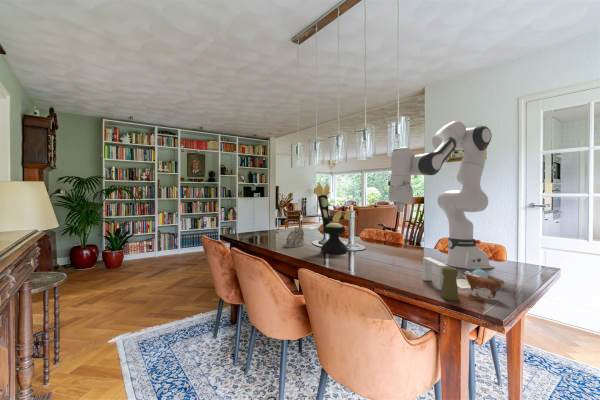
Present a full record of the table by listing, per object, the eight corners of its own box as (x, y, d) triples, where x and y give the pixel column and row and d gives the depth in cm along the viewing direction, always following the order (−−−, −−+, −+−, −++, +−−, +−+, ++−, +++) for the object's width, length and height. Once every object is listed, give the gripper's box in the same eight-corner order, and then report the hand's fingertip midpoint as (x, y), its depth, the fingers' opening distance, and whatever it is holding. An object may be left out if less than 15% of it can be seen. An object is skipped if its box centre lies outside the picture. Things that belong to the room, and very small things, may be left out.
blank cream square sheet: (471, 279, 134) (471, 278, 134) (490, 288, 122) (490, 287, 122) (445, 279, 134) (445, 279, 134) (461, 288, 122) (461, 288, 122)
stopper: (481, 278, 136) (481, 271, 136) (504, 288, 122) (504, 281, 122) (476, 278, 136) (477, 271, 136) (499, 288, 122) (499, 281, 122)
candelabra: (341, 256, 181) (341, 180, 180) (308, 252, 192) (308, 180, 191) (352, 250, 198) (352, 181, 196) (321, 247, 209) (321, 181, 207)
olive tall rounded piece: (437, 294, 115) (437, 265, 115) (452, 294, 115) (453, 265, 115) (446, 300, 109) (446, 269, 109) (462, 299, 109) (463, 269, 109)
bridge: (429, 279, 135) (429, 257, 134) (447, 290, 120) (448, 265, 120) (422, 279, 135) (422, 257, 134) (440, 290, 120) (440, 265, 119)
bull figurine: (464, 289, 121) (465, 269, 120) (501, 299, 109) (502, 277, 109) (458, 291, 118) (458, 270, 118) (495, 302, 107) (496, 279, 107)
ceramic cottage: (296, 242, 230) (295, 222, 229) (309, 246, 217) (308, 225, 215) (278, 245, 222) (277, 225, 220) (290, 250, 208) (289, 228, 207)
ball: (484, 273, 132) (473, 264, 131) (494, 276, 126) (483, 268, 125) (476, 284, 131) (465, 276, 131) (485, 288, 125) (474, 280, 125)
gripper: (417, 181, 132) (416, 213, 133) (399, 182, 153) (398, 210, 153) (402, 181, 132) (402, 213, 132) (386, 182, 152) (386, 210, 153)
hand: (400, 211), depth 143 cm, fingers closed
